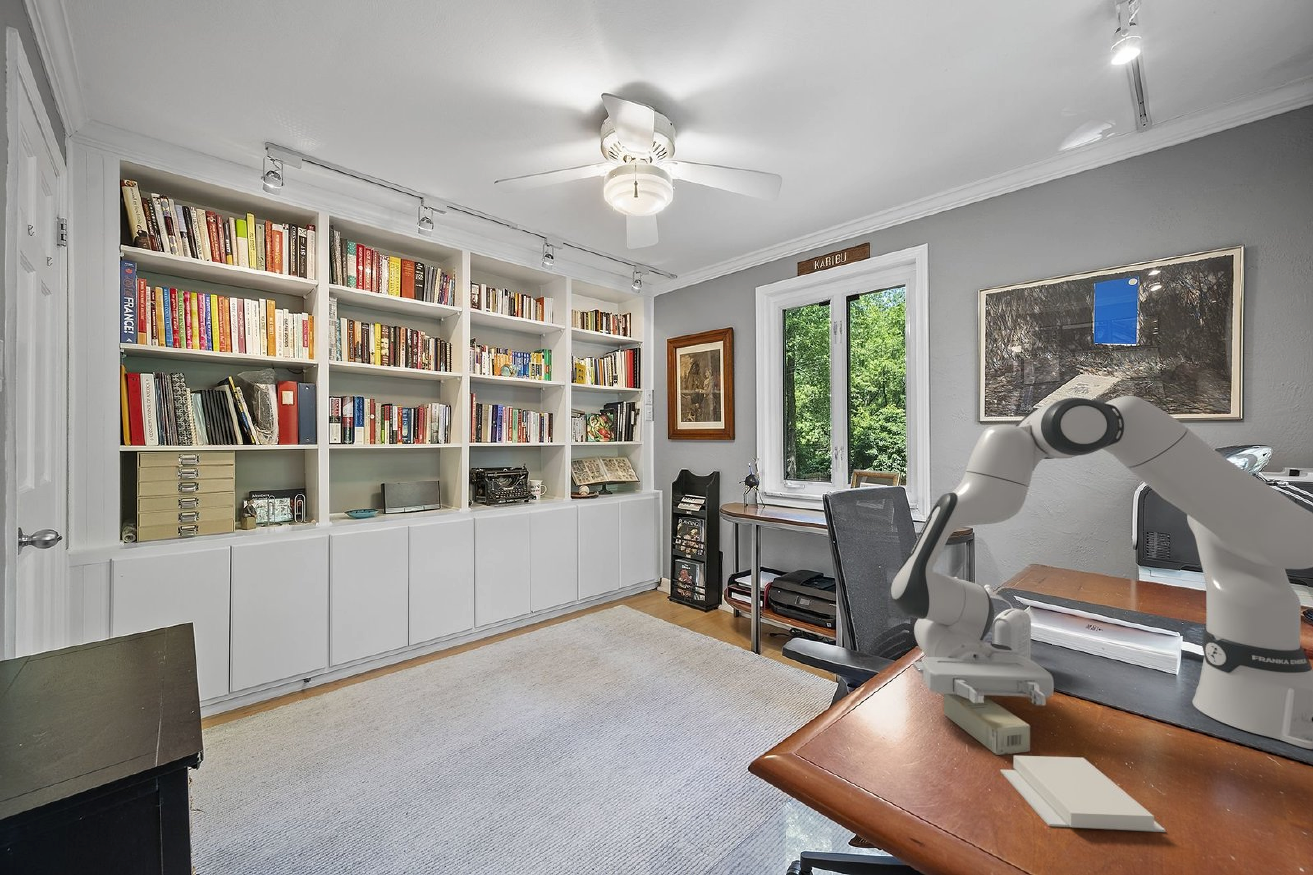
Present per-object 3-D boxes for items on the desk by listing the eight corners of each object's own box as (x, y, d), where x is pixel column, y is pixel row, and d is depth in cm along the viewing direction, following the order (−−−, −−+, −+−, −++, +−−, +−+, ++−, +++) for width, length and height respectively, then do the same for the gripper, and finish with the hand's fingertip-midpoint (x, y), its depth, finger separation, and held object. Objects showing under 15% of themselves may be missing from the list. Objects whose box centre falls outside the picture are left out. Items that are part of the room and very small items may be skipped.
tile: (1083, 757, 79) (1154, 816, 67) (1083, 770, 79) (1153, 831, 67) (1013, 755, 80) (1071, 813, 68) (1013, 768, 80) (1071, 828, 68)
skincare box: (997, 729, 83) (942, 690, 95) (996, 757, 83) (942, 714, 95) (1032, 725, 84) (974, 687, 96) (1031, 752, 84) (973, 711, 96)
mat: (1100, 775, 79) (1100, 773, 79) (1165, 832, 68) (1165, 829, 68) (1000, 771, 80) (1000, 769, 80) (1048, 826, 69) (1048, 823, 69)
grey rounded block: (1011, 658, 119) (1012, 602, 119) (1033, 665, 115) (1034, 608, 115) (988, 669, 113) (989, 611, 113) (1011, 677, 110) (1011, 617, 110)
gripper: (909, 644, 100) (942, 678, 86) (1023, 647, 99) (1076, 682, 85) (909, 677, 100) (942, 717, 87) (1023, 681, 99) (1076, 722, 85)
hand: (1010, 700), depth 86 cm, fingers open, 8 cm apart
